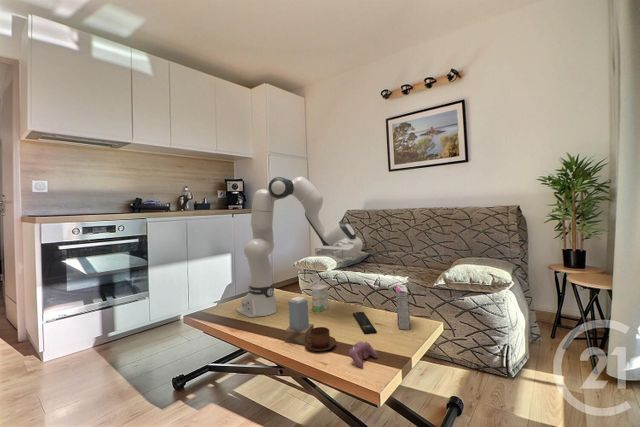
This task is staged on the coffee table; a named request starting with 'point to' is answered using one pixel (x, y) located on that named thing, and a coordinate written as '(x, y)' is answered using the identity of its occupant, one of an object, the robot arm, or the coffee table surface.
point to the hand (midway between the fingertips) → (324, 253)
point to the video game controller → (364, 350)
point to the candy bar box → (402, 307)
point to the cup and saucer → (320, 339)
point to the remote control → (364, 323)
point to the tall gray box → (298, 313)
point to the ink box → (319, 296)
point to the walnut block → (297, 335)
